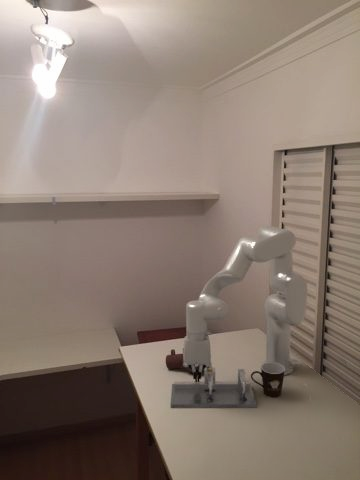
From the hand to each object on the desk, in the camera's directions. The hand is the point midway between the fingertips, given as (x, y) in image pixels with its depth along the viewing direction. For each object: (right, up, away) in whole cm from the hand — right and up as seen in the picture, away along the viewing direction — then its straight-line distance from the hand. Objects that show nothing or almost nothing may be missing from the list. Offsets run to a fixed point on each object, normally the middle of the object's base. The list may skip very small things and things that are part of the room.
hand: (197, 380), depth 158 cm
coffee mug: (+26, -4, -1) cm, 27 cm away
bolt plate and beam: (+5, -5, -3) cm, 8 cm away
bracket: (-3, -2, +17) cm, 17 cm away
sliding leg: (+5, -3, -3) cm, 6 cm away
